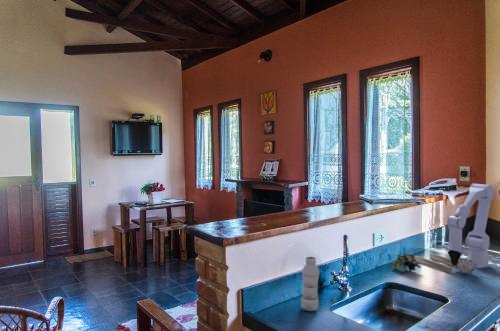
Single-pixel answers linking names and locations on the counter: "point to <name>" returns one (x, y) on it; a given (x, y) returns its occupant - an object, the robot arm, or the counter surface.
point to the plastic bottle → (310, 285)
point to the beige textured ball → (465, 265)
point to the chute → (435, 264)
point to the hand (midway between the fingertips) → (454, 265)
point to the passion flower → (405, 262)
